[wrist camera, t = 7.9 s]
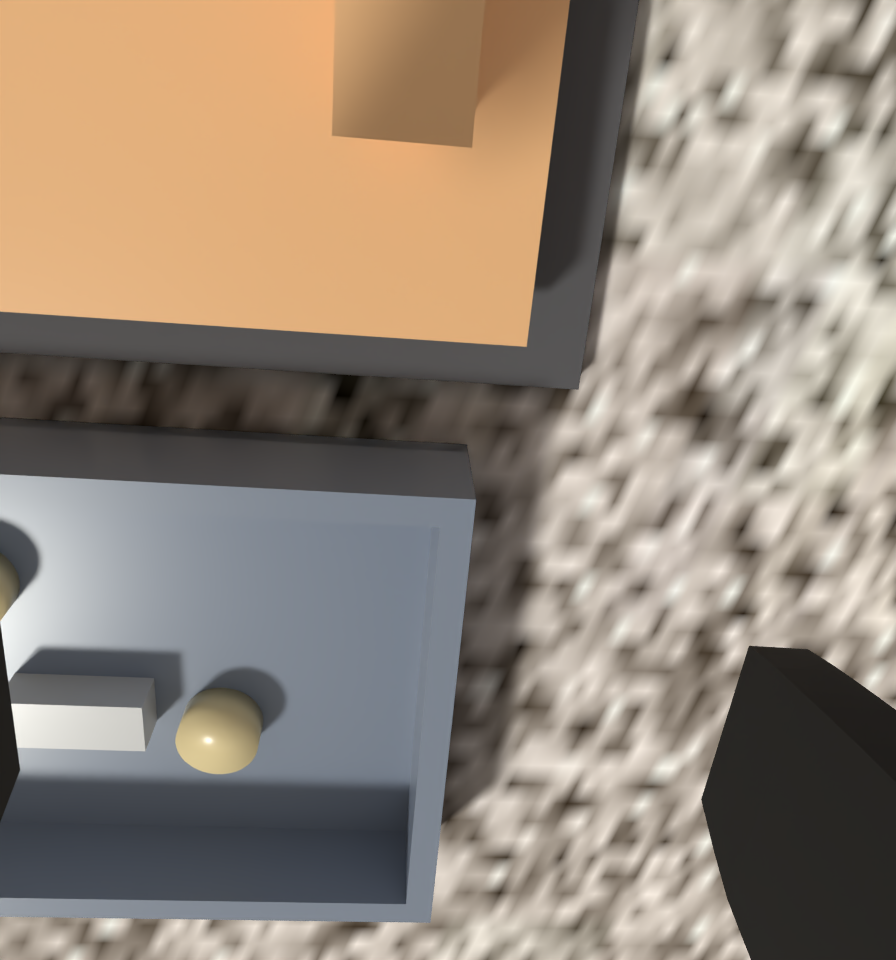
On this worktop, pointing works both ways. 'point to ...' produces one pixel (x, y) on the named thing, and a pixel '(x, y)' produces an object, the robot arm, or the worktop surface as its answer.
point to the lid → (279, 162)
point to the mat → (543, 363)
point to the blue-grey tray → (228, 670)
